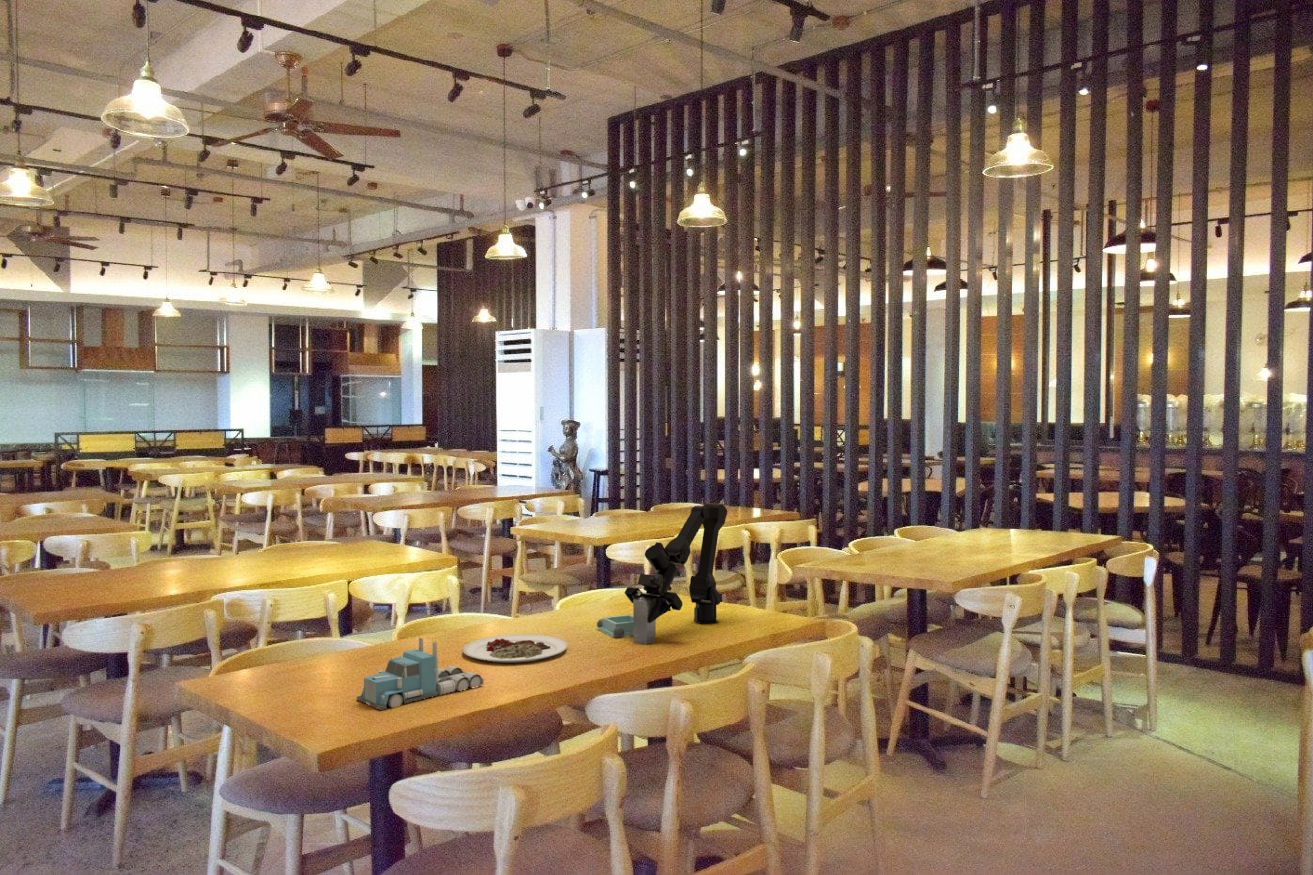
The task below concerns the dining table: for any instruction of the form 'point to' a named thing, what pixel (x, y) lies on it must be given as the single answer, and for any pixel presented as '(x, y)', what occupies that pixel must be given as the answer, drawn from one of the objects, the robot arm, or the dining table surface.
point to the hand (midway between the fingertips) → (641, 621)
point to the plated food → (515, 648)
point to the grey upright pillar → (643, 621)
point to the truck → (414, 680)
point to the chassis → (616, 626)
